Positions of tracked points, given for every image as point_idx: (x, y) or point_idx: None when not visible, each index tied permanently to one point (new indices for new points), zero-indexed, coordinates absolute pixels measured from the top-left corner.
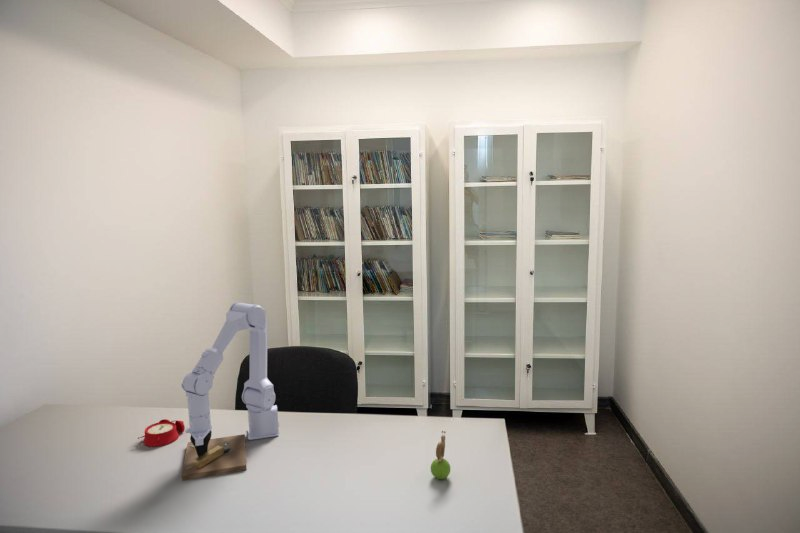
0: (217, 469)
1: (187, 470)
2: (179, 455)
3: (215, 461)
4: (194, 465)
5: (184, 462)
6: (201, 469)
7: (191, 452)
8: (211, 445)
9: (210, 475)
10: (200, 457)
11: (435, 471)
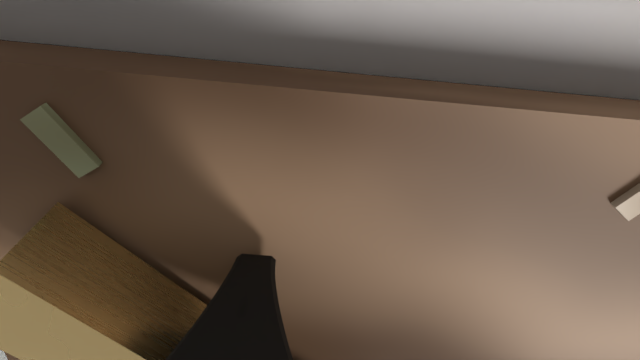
0: (10, 356)
1: (5, 120)
2: (623, 3)
3: None
4: (47, 214)
5: (240, 88)
6: None
7: (491, 174)
8: (520, 341)
9: None
10: (54, 334)
11: None
